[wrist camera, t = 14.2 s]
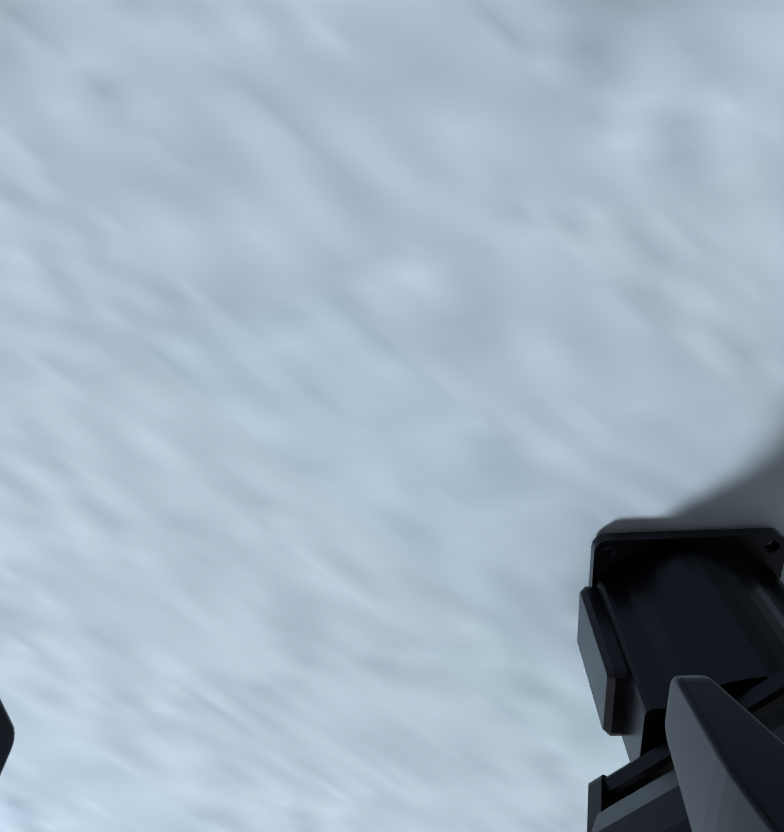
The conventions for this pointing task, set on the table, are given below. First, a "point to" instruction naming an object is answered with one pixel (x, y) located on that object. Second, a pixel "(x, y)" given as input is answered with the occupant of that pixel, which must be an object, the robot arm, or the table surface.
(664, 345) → the table surface
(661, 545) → the robot arm
